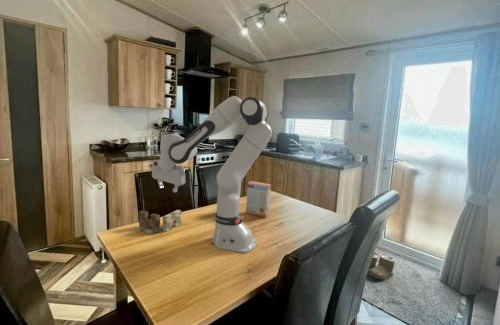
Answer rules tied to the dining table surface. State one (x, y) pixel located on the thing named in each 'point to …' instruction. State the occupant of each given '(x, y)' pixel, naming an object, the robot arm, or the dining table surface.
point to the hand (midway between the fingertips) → (168, 190)
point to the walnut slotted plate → (149, 223)
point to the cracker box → (258, 199)
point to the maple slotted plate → (169, 218)
